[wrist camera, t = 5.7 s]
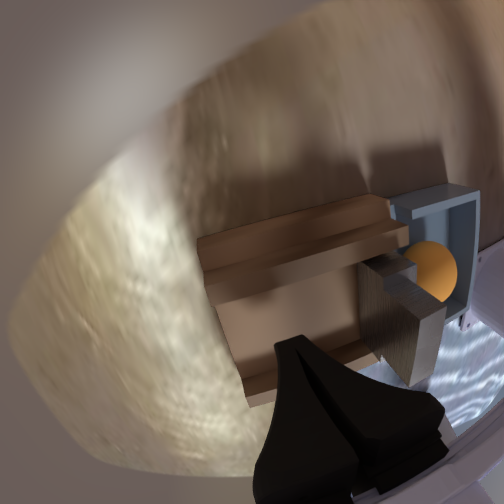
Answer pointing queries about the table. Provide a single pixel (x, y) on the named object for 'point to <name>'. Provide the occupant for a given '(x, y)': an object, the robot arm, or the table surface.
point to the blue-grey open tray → (445, 232)
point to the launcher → (296, 284)
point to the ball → (434, 268)
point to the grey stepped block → (399, 316)
